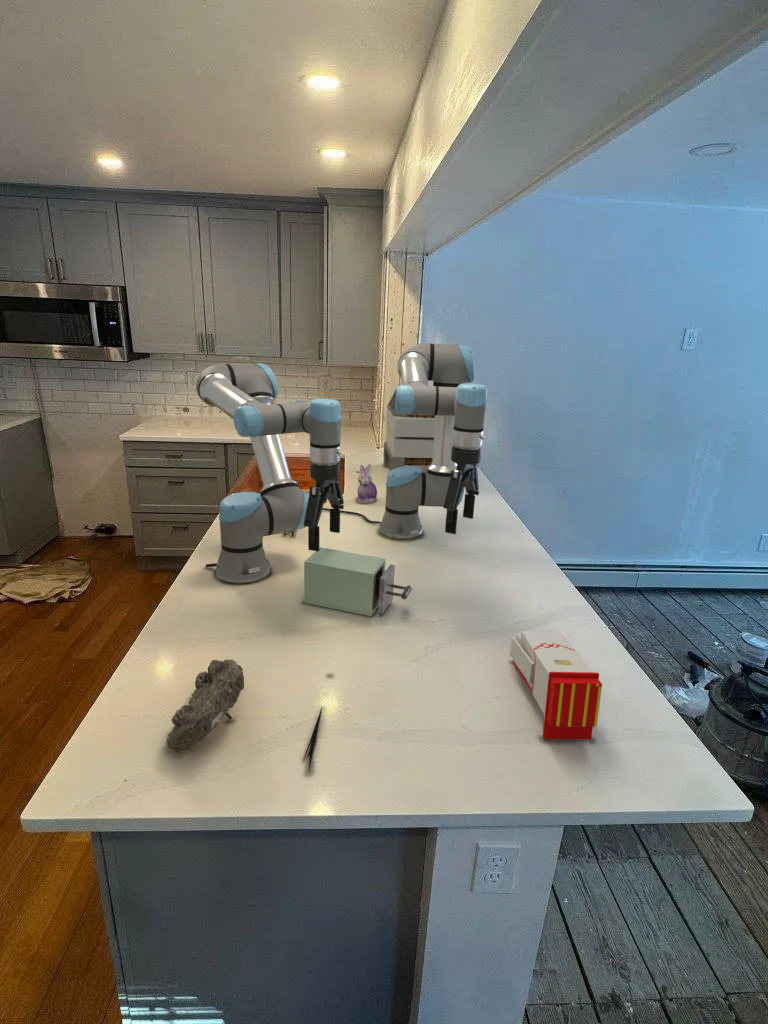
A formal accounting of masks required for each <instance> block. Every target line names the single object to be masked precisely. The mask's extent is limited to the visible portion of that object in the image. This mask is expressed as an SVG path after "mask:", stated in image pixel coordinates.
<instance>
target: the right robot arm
mask: <svg viewBox="0 0 768 1024" xmlns="http://www.w3.org/2000/svg"><path fill="white" fill-rule="evenodd" d="M474 356H475V355H474V352H473V349H472V347H470V346H469V345H467V344H466V345H465V344H458V343H457V344H453V343H452V344H451V343H450V344H449V343H448V344H447V343H429V342H424V343H419V344H416V345H413V346H411V347H409V348H407V349H406V350H405V351H404V352H402V354H401V355H400V357H399V358H398V361H397V373H398V376H399V377H400V379H401V380H400V381H401V384H398V385H399V386H398V385H397V386H396V388H395V390H396V403H395V405H396V406H395V409H396V412H397V413H401V414H407V415H436V416H435V430H434V445H433V459H432V463H431V464H430V465H428V466H427V469H426V472H424V471H423V472H422V469H421V468H420V467H419V466H407V465H404V467H398V468H395V469H392V470H391V471H390V470H389V471H388V473H387V475H386V482H385V486H386V488H385V489H386V490H385V504H384V505H385V507H384V508H385V509H384V513H383V515H382V519H381V521H379V520H370V519H369V518H368V517H366V516H365V515H364V514H363V513H359V512H355V511H349V510H343V509H339V510H340V513H343V514H348V515H349V514H350V515H357V516H360V517H362V518H363V519H364V520H365V521H366V522H368V523H371V524H379V526H378V533H379V534H380V535H381V536H382V537H385V538H387V539H389V540H395V541H410V540H415V539H418V538H420V537H421V536H422V535H423V525H422V524H421V518H420V515H419V507H435V508H437V507H438V508H443V509H445V510H446V513H445V525H444V526H445V527H444V533H446V534H450V535H451V534H452V535H456V534H457V525H458V517H459V516H458V514H459V509H458V506H459V505H460V504H461V502H462V500H463V497H464V501H463V510H462V511H463V512H462V518H466V519H470V520H473V519H474V514H475V513H474V512H475V505H476V496H479V494H480V491H479V489H480V487H479V473H478V471H479V470H478V465H479V464H480V463H481V459H482V449H481V447H482V446H483V440H485V439H486V438H485V437H486V436H485V435H484V430H485V429H484V427H485V419H486V410H487V403H488V388H487V386H486V385H484V384H480V383H473V382H474V380H475V373H476V371H475V370H476V369H475V357H474ZM429 381H430V382H431V381H432V385H429ZM465 492H466V493H465ZM464 493H465V494H464ZM330 509H331V508H328V507H323V509H322V511H328V512H330Z"/></svg>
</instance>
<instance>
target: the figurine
mask: <svg viewBox="0 0 768 1024" xmlns="http://www.w3.org/2000/svg"><path fill="white" fill-rule="evenodd" d="M371 469H372V464H371V463H369V464H368V465H366V467H364V465H363V464H360V465H359V475H358V477H357V480H358V483H359V484H358V487H357V497H356V500H357V502H358V503H360V504H368V503H374V502H375V501H376V500H377V497H378V496H377V495H378V489H377V486H376V484H375V482H373V481H372V480H373V478H372V476H371V473H370V472H371Z"/></svg>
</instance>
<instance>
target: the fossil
mask: <svg viewBox="0 0 768 1024" xmlns="http://www.w3.org/2000/svg"><path fill="white" fill-rule="evenodd" d="M243 670H244V669H243V667H242V665H240V664H237V662H236V661H235V660H234V659H232V658H231V659H227V658H226V659H224V660H223V661H222V660H217V659H212V660H211V661H210V663H209V665H208V666H207V671H201V672H199V673H198V674H197V675H196V676H195V680H194V684H195V685H194V687H195V689H194V690H193V693H192V694H191V697H190V698H189V700H188V704H184V705H182V706H181V707H180V709H177V710H176V711H175V713H174V715H173V716H172V718H171V723H172V724H173V727H172V730H171V731H170V732H168V734H167V738H166V741H167V742H166V745H167V749H168V750H169V751H173V752H174V753H176V754H178V753H182V752H188V751H189V752H192V751H193V750H195V748H196V747H197V746H199V744H200V743H201V742H203V741H204V740H205V739H206V738H207V737H208V736H209V735H210V734H211V733H212V732H214V730H215V729H217V727H218V726H219V724H220V722H221V721H222V720H223V719H224V718H225V716H226V717H227V719H229V720H233V717H232V715H230V714H229V710H230V709H231V708H234V706H235V704H236V703H237V702H238V699H239V697H240V695H241V693H242V691H243V690H245V689H244V688H245V675H244V671H243Z"/></svg>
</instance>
